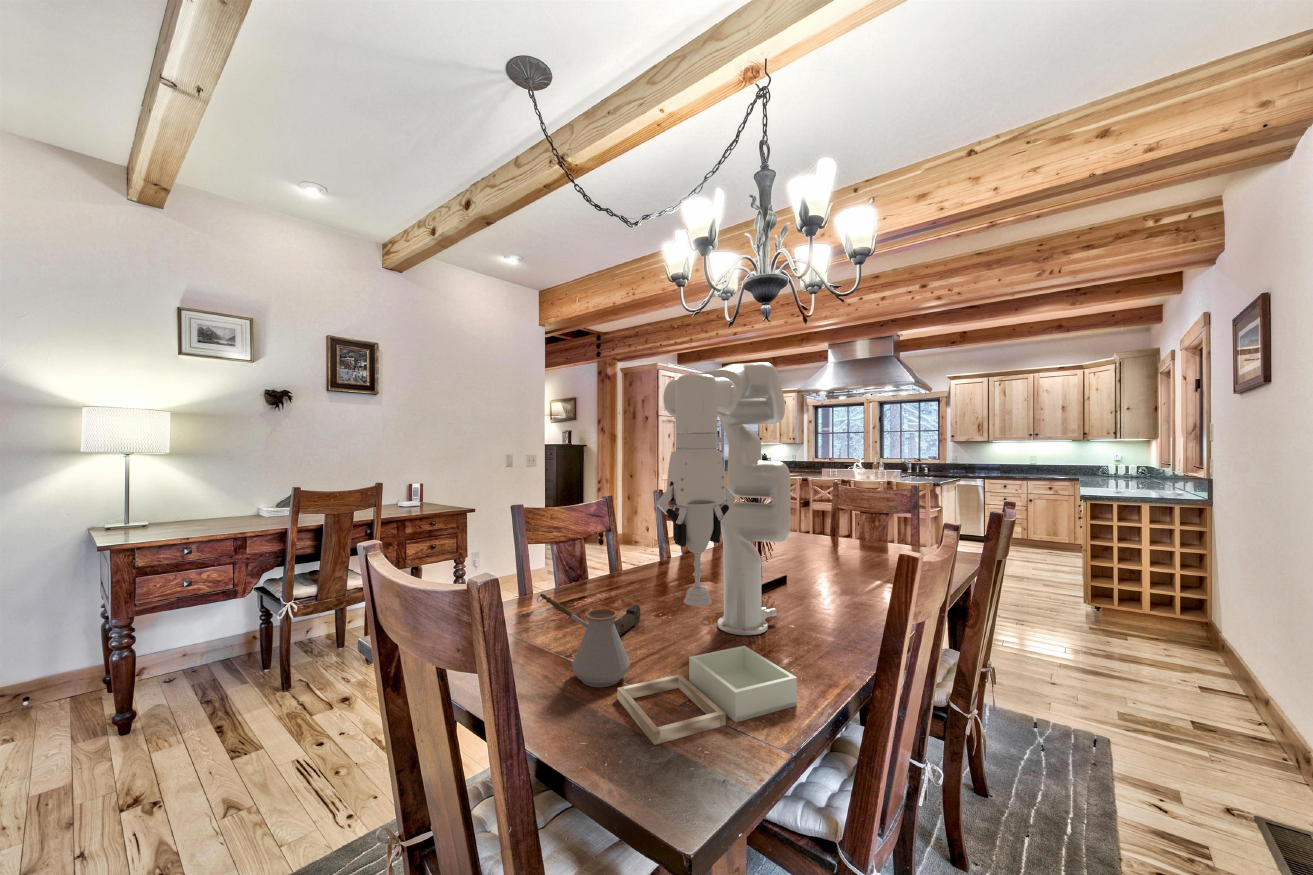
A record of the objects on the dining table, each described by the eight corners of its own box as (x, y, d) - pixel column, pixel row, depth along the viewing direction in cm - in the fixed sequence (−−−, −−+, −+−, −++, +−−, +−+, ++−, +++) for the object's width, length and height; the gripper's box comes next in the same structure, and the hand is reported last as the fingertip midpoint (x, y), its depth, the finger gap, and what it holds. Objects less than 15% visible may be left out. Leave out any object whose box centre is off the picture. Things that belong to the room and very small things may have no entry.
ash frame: (680, 684, 100) (680, 674, 100) (725, 725, 85) (725, 713, 85) (617, 698, 94) (617, 687, 94) (654, 744, 80) (654, 731, 80)
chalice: (704, 610, 88) (704, 505, 88) (670, 603, 92) (670, 502, 92) (723, 598, 94) (722, 500, 94) (691, 593, 98) (690, 498, 98)
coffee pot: (640, 672, 105) (640, 598, 105) (611, 697, 95) (611, 615, 95) (555, 653, 115) (555, 586, 115) (520, 674, 104) (520, 600, 104)
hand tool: (613, 647, 119) (613, 626, 119) (598, 644, 121) (598, 624, 121) (649, 621, 136) (649, 604, 136) (635, 619, 138) (635, 602, 138)
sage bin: (744, 669, 106) (744, 645, 106) (796, 705, 92) (796, 677, 92) (689, 682, 101) (689, 656, 101) (735, 722, 86) (735, 692, 86)
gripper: (726, 442, 100) (727, 535, 100) (644, 444, 93) (645, 544, 93) (748, 443, 93) (749, 542, 93) (661, 444, 86) (662, 552, 86)
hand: (697, 542), depth 93 cm, fingers closed on chalice, 6 cm apart
